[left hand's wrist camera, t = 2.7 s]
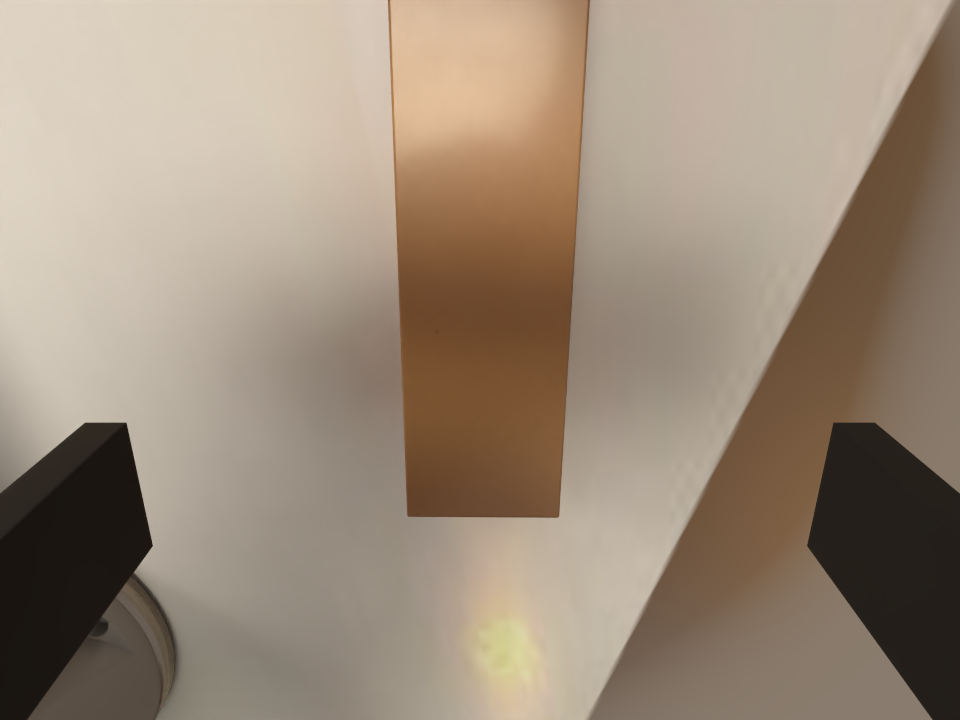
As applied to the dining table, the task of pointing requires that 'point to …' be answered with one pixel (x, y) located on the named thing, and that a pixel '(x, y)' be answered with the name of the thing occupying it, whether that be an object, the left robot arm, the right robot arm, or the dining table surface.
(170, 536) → the dining table surface
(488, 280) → the post
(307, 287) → the dining table surface
